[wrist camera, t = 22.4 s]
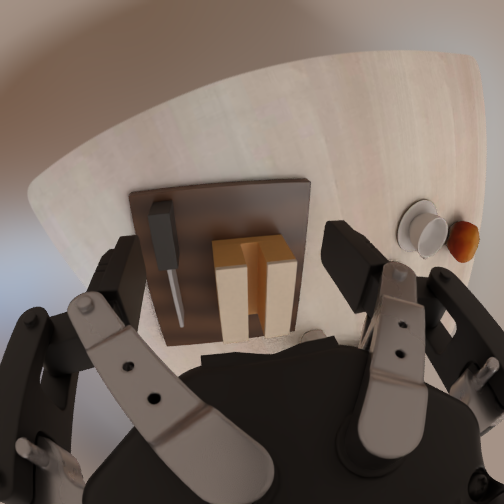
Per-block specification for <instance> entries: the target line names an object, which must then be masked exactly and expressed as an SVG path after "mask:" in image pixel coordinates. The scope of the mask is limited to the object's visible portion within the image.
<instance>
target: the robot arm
mask: <svg viewBox="0 0 504 504" xmlns="http://www.w3.org/2000/svg"><path fill="white" fill-rule="evenodd" d="M321 260H322V264H323V266H324V267H325V269H326V270H327V272H328V273H329V275H330V276H331V278H332V279H333V281H334V282H335V284H336V285H337V287H338V288H339V290H340V291H341V293H342V295H343V296H344V298H345V299H346V301H347V302H348V304H349V305H350V307H351V309H352V310H353V312H354V313H355V314H356V313H361V312H366V313H367V315H366V318H365V321H364V325H363V329H362V334H361V338H360V342H359V346H358V348H357V347H352V346H346V345H338V343H337V341H336V339H335V337H334V336H331V337H326V338H321V339H316V340H311V341H305V342H302V343H300V344H298V345H295V346H293V347H291V348H288V349H286V350H283V351H281V352H278V353H275V354H254V353H241V352H232V353H222V354H212V355H201V365H202V366H199V367H196V368H193V369H191V370H189V371H187V372H185V373H183V374H181V375H180V376H179V377H177V376H176V375H175V374H174V373H173V372H172V371H171V370H170V369H169V368H168V367H167V366H166V364H165V363H164V362H163V361H162V360H161V359H160V358H159V357H158V356H157V355H156V354H155V353H154V351H153V350H152V349H151V348H150V347H149V346H148V345H147V344H146V342H145V341H144V340H143V339H142V338H141V337H140V335H139V334H138V333H137V331H138V325H139V318H140V312H141V306H142V301H143V295H144V290H145V285H146V267H145V263H144V258H143V254H142V249H141V244H140V240H139V237H138V235H130V236H121V237H120V238H119V240H118V242H117V244H116V246H115V249H109V250H108V251H107V252H106V253H105V254H104V255H103V256H102V257H101V260H100V262H99V264H98V266H97V268H96V270H95V273H94V275H93V277H92V280H91V282H90V284H89V287H88V289H87V291H86V292H85V293H82V294H80V295H78V296H77V297H75V298H74V299H73V300H72V301H71V302H70V304H69V306H68V309H67V312H65V313H62V314H58V315H55V316H51V317H49V315H48V313H47V311H46V310H45V309H44V308H42V307H33V308H31V309H29V310H27V311H25V312H24V313H23V314H22V315H21V316H20V318H19V319H18V321H17V323H16V326H15V328H14V330H13V333H12V335H11V338H10V340H9V342H8V345H7V348H6V351H5V353H4V356H3V359H2V362H1V364H0V502H2V503H5V504H504V484H502V483H500V482H498V481H496V480H494V479H493V478H492V477H490V476H489V474H488V473H487V471H486V469H485V467H484V463H483V458H482V452H481V443H480V436H483V435H484V434H486V433H487V432H488V431H489V430H491V429H492V428H493V427H495V426H496V425H497V424H498V423H499V422H501V421H502V420H503V419H504V331H503V330H502V329H501V327H500V326H499V325H498V324H497V322H496V321H495V320H494V319H493V317H492V316H491V315H490V314H489V313H488V311H487V310H486V309H485V308H484V306H483V305H482V304H481V303H480V302H479V301H478V300H477V298H476V297H475V296H474V295H473V294H472V293H471V291H470V290H468V288H467V287H466V286H465V285H464V284H463V283H462V282H461V281H460V279H459V278H458V277H457V276H456V275H455V274H454V273H452V272H451V271H450V270H448V269H445V268H442V267H434V268H432V269H431V272H430V274H429V277H418V276H416V275H415V273H414V271H413V270H412V269H411V268H409V267H408V266H406V265H404V264H401V263H398V262H389V261H388V260H387V259H386V258H385V257H384V256H383V255H382V254H381V252H380V251H379V250H378V249H377V248H375V246H374V245H373V244H372V243H370V241H369V240H368V239H367V238H366V237H365V236H364V235H362V234H360V233H358V232H357V231H355V230H353V229H352V228H351V227H350V226H349V225H348V224H347V223H346V222H345V221H344V220H338V221H327V222H326V225H325V229H324V236H323V242H322V248H321ZM446 310H447V311H448V313H449V314H450V315H451V316H452V318H453V319H454V320H455V322H456V326H457V330H456V333H455V335H454V336H453V338H452V337H451V335H450V334H449V333H448V331H447V330H446V328H445V327H444V326H443V324H442V323H441V321H440V320H441V318H442V316H443V314H444V312H445V311H446ZM425 353H426V355H427V356H428V358H429V360H430V361H431V363H432V365H433V366H434V368H435V370H436V371H437V373H438V375H439V377H440V379H441V380H442V382H443V384H444V386H445V388H446V389H447V391H448V393H449V394H447V393H445V392H443V391H441V390H439V389H437V388H435V387H433V386H431V385H429V384H427V383H425V382H424V366H425V365H424V364H425ZM42 367H44V371H43V375H42V379H41V383H40V374H41V371H42ZM93 367H95V368H96V370H97V372H98V373H99V375H100V376H101V378H102V380H103V381H104V383H105V385H106V386H107V388H108V389H109V390H110V392H111V394H112V395H113V397H114V398H115V400H116V401H117V402H118V404H119V405H120V407H121V408H122V410H123V411H124V412H125V414H126V415H127V417H128V418H129V419H130V421H131V422H132V423H133V424H134V427H133V428H132V429H131V430H130V431H129V433H128V434H127V435H126V436H125V437H124V439H123V440H122V441H121V442H120V443H119V445H118V446H117V447H116V448H115V449H114V450H113V451H112V453H111V454H110V455H109V456H108V457H107V458H106V459H105V461H104V462H103V463H102V464H101V465H100V466H99V468H98V469H97V470H96V471H95V472H94V473H93V474H92V476H91V477H90V478H89V480H88V481H87V483H86V484H85V482H84V480H83V475H82V473H81V468H80V465H79V463H78V461H77V459H76V458H75V457H74V456H73V455H72V454H71V436H72V422H73V411H74V402H75V395H76V388H77V381H78V375H79V371H83V370H86V369H90V368H93Z"/></svg>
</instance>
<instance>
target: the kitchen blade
mask: <svg viewBox="0 0 504 504" xmlns="http://www.w3.org/2000/svg"><path fill="white" fill-rule="evenodd" d="M148 221H149V227H150V232H151V237H152V243H153V247H154V252H155V257H156V262H157V266H158V270H159V271H163V270H167V272H168V276H169V281H170V286H171V290H172V294H173V299H174V303H175V307H176V311H177V315H178V319H179V323H180V327H184V308H183V303H182V299H181V294H180V289H179V284H178V279H177V274H176V269H178V267H179V254H180V250H179V244H178V237H177V230H176V223H175V216H174V208H173V201H172V200H169V201H160V202H153V203H152V206H151V208H150V211H149V213H148Z"/></svg>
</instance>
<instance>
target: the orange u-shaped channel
mask: <svg viewBox="0 0 504 504" xmlns="http://www.w3.org/2000/svg"><path fill="white" fill-rule="evenodd" d="M212 249H213V260H214V270H215V280H216V290H217V299H218V308H219V316H220V324H221V331H222V338H223V344H229V343H238V342H245V341H249V330H248V315H250V314H258V317H259V320H260V323H261V327H262V330H263V334H264V337H265V339H266V338H273V337H279V336H285V335H289V332H290V324H291V316H292V308H293V299H294V290H295V281H296V271H297V260H296V258H295V256H294V255H293V253H292V251H291V250H290V248H289V246H288V245H287V243H286V241H285V240H284V238H283V236H282V235H270V236H258V237H247V238H237V239H226V240H215V241H212Z"/></svg>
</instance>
